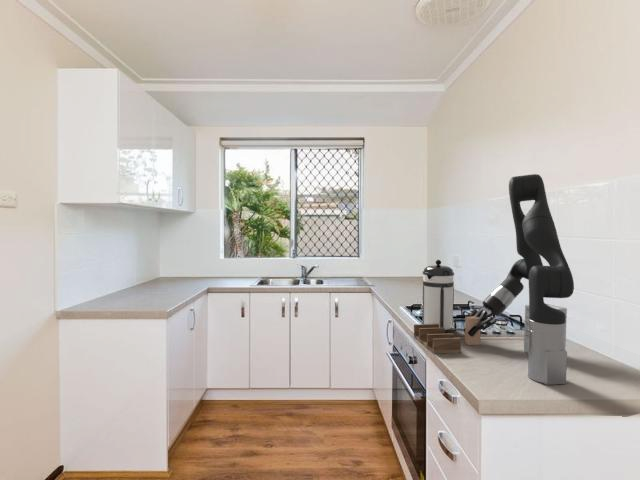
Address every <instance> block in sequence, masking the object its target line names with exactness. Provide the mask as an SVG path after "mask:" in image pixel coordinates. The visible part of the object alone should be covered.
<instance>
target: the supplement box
mask: <svg viewBox="0 0 640 480" xmlns="http://www.w3.org/2000/svg"><path fill="white" fill-rule="evenodd" d="M545 304H546V305H548V306H550V307H552V308H555V309H558V310H561V311H562V312H564V313H565V315H566V319H567V316H568V315H567V313H568V309H567V308H566V307H562V306H557V305H554V304H548V303H545ZM523 335H524V336H523V337H524V338H523V340H524V341H523V344H524V345H523V352H525V353H526V354H528V347H529V304H526V305H525V306H524V334H523ZM566 338H567V321H566V322H565V347H566V346H567V345H566V344H567V343H566V340H567V339H566Z"/></svg>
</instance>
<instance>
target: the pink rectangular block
mask: <svg viewBox="0 0 640 480" xmlns="http://www.w3.org/2000/svg"><path fill="white" fill-rule="evenodd" d="M478 319H479V317H475V316H471V317H470V316H465V317H464V323H465V324H464V328H465V332H464V343H465V344H466V345H468V346H479V345H481V330H478V331H477V332H476V334H475V335H474V336H472V337H471V336H470V335H469V334H468V331H469V330H470V329H471V328H472V327H473V326H475V324H476V323H477V322H478Z"/></svg>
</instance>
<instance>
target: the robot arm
mask: <svg viewBox="0 0 640 480" xmlns="http://www.w3.org/2000/svg"><path fill="white" fill-rule="evenodd" d="M545 187H546V186H545V183H544V181H543V178H542V176H541V175H540V174H537V173H535V174H534V173H533V174H532V173H531V174H526V175H518V176H512V177H511V178H509V182H508V194H509V201H510V206H511V208H510V209H511V213H512V219H513V223H514V229H515V237H516V238H515V240H516V241H515V242H516V251H517V254H518V256H520V257H522V258H520V259H518V260H516V261H515V262H514V263H513V264H512V266H511V268H510V270H509V271H508V273H507V276H506V278H505V279H504V280H503V281H502V282H501V283H500V284H499V285H498V286H497V287H496V288H494V290H493V291H491V292H490V294H488V295H487V297H486V298H485V299H484V300H482V307H480V308H479V309H476V308H473V310H472V311H471V314H470V315H469V317H471V316H475V317H479V319H478V322H477V323H476V324H475V326H473V327H472V328H471V329H470V330H469V331H468V334H469V335H470V336H471V337H472V336H474V335H475V334H476V332H477V331H478V330H480V331H481V330H482V331H485V330H486V329H489V327H490V326H491V325H493V324H497V320H496V319H495V317H496V316H497V317H500V316H501V315H502V314H503V313H504V311H506V309H507V308H508V307H509V306H510V305H511V304H512V303H513V301H514V300H515V299H516V298H517V296H518V295H520V293H521V292H522V291H523V290H524V287H525V286H524V284H523V283H522V282H521V281H522V279H523V278H524V279H526V280H527V281H528V300H529V301H528V305H529V347H528V353H527V354H528V357H527V361H528V362H527V377H528V378H530V379H531V380H533V381H535V382H537V383H542V384H544V385H545V386H546V385H547V386H550V385H566V384H567V368H568V366H567V363H568V361H567V360H568V351H567V350H566V346H565V322H566V323H567V318H566V315H565V313H564V312H562V311H561V310H558V309H555V308H552V307H550V306H548V305H546V304H547V303H545V301H544V299H545V298H547V299H548V298H550V299H551V298H552V299H568V298H570V297H571V296H572V295H573V293H574V290H575V283H574V277H573V274H572V271H571V268H570V266H569V264H568V262H567V259H566V257H565V254H564V252H563V250H562V247H561V243H560V239H559V236H558V232H557V228H556V226H555V221H554V218H553V216H552V213H551V209H550V207H549V203H548V199H547V193H546V188H545ZM528 201H534V203H533V205H532V206H531V208H530V209H529V210H528V212H527V213H526V214H525V213H524V212H523V209H522V207H521V202H528ZM541 257H542V258H543V259H544V260H545V261H546V262H547V263H548V265H544V264H543V261H542V258H541ZM462 331H463V332H464V333H465V327H464V328H463V330H462Z"/></svg>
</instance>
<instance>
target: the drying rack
mask: <svg viewBox="0 0 640 480" xmlns="http://www.w3.org/2000/svg"><path fill="white" fill-rule="evenodd" d="M413 338H414V339H415V340H417V341H418V342H419V343H420V344H422V346H424V347H425V348H426V349H428V351H430V352H431V353H432V354H455V353H456V354H457V353H459V354H460V353H461V352H462V338H461V337H455V334H454V333H452V332H451V333H450V332H449V333H446V330H445V328H444V327H442V328H439V324H422V323H421V324H420V323H418V324H413Z"/></svg>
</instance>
